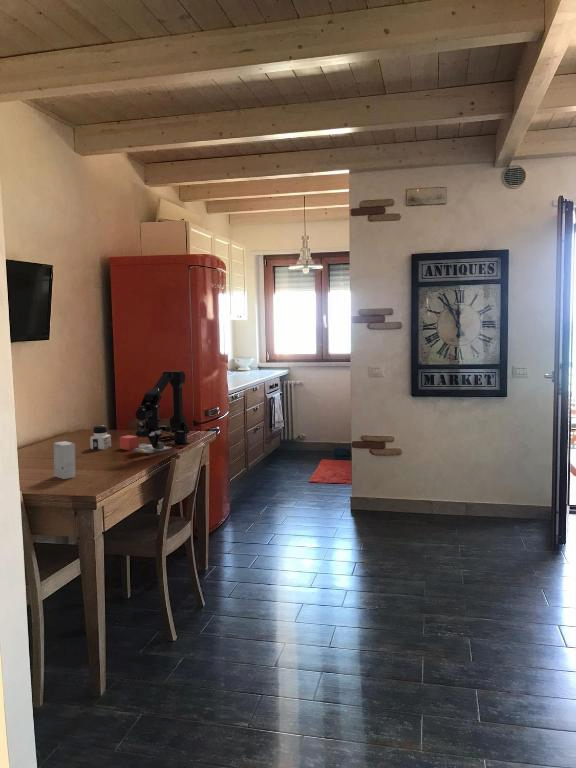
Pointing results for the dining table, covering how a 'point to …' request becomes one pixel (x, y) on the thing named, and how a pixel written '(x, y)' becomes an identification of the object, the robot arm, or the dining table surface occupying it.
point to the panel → (150, 449)
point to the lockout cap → (129, 442)
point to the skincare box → (64, 460)
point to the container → (100, 438)
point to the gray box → (159, 445)
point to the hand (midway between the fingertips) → (154, 448)
